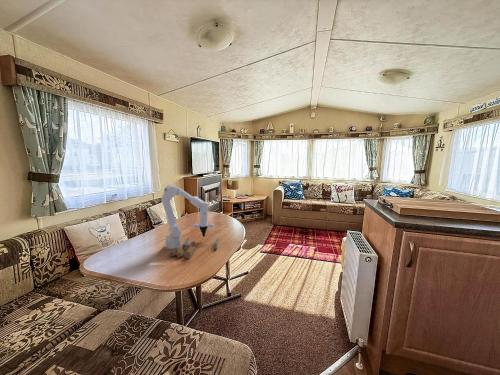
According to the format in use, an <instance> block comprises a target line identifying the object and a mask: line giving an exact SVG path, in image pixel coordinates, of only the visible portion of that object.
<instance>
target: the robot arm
mask: <svg viewBox="0 0 500 375" xmlns="http://www.w3.org/2000/svg"><path fill="white" fill-rule="evenodd" d="M175 196H182V197H183V198H185V199H187V200H189V202H190V204H192V205H193V206H195V207H197V208H198V209H199V223H193V228H199V230H200V232H201V234H202V238H205V237H206V232H207V230H208V228H214V227H215V223H209V221H208V219H209V218H208V216H209V215H208V214H209V212H208V210H209V208H210V206H209V205H208V203H207V202H205V201H204V200H203V199H201V198H199V196H196V195H194V196H192V195H191V194H189V193H188V192H187V191H185V190H184V189H181V188H180V187H178V186H175V185H173V184H167V185H166V187H165V188H164V190H163V193H162V196H161V204H162V205H163V209H164V212H165V215H166V220H167V221H168V227H169V228H168V231H169V233H170V234H169V235H167V236H166V238H165V249H167V250H169V249H170V250H172V249H173V248H176V247H177V249H181V247H182V242H181V241H182V239H181V238H182V237H181V234H182V231H181V229H180V228H179V226H178V223H177V220H176V217H175V214H174V210H173V206H172V203H171V200H172V199H173V198H174V197H175Z"/></svg>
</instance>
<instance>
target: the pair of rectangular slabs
mask: <svg viewBox="0 0 500 375" xmlns="http://www.w3.org/2000/svg"><path fill="white" fill-rule="evenodd" d="M219 241H220V240H219V237H216V239H215V243H214V251H217V250H218V246H219ZM189 246H190V237H187V238H186V239H185V241H184V242H183V244H182V249H183V250H184V252H186V251H187V250H186V249H188V247H189Z"/></svg>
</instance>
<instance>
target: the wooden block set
mask: <svg viewBox="0 0 500 375" xmlns="http://www.w3.org/2000/svg"><path fill="white" fill-rule="evenodd" d="M197 246H198V245H197V243H196V241H195V240H191V241H190V245H188V247H187V248H186V249H187V250H185V251H184V250H183V248H177V247H176V248H173V249H170V251H169V252H168V254H169V257H170V258H173V257H175V256H176V257H177V258H178V259H179V258H182V257H183V256H184V258H185V259H188V260H189V259H191V257H192V255H193V254H194V252H195V251H196V250H195V249H196V247H197Z"/></svg>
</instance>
